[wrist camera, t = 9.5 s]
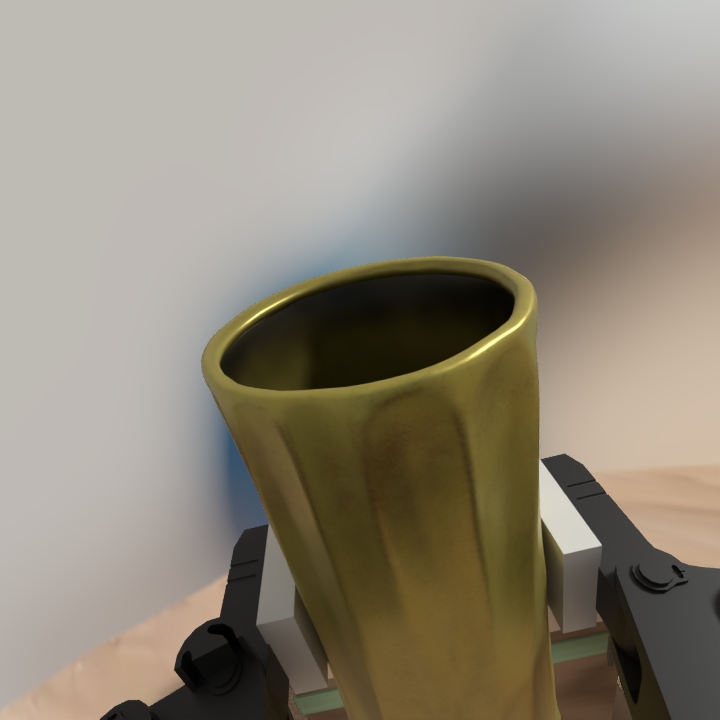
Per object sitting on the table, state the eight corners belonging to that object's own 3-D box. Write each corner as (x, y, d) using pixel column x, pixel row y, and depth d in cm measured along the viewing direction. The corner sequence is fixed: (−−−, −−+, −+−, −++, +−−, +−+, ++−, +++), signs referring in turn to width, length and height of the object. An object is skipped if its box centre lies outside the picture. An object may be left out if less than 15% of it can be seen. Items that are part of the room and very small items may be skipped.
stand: (541, 561, 32) (538, 439, 27) (649, 766, 22) (681, 634, 16) (324, 607, 33) (278, 497, 27) (325, 831, 22) (249, 724, 16)
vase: (613, 847, 10) (704, 342, 4) (373, 894, 11) (78, 486, 4) (513, 607, 16) (482, 228, 9) (356, 641, 16) (217, 292, 10)
